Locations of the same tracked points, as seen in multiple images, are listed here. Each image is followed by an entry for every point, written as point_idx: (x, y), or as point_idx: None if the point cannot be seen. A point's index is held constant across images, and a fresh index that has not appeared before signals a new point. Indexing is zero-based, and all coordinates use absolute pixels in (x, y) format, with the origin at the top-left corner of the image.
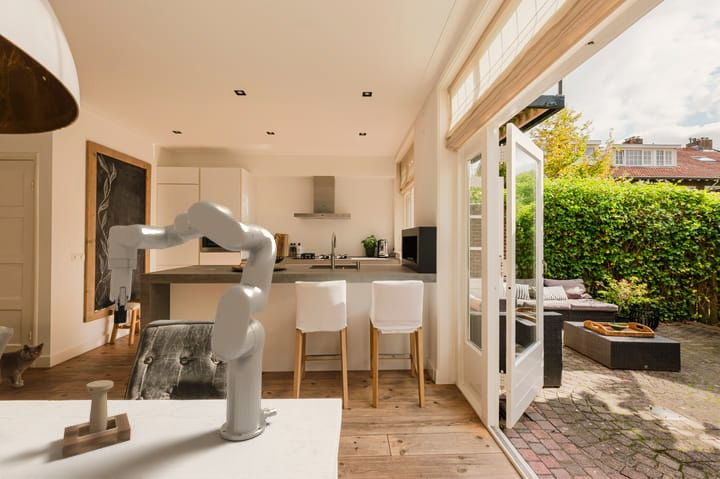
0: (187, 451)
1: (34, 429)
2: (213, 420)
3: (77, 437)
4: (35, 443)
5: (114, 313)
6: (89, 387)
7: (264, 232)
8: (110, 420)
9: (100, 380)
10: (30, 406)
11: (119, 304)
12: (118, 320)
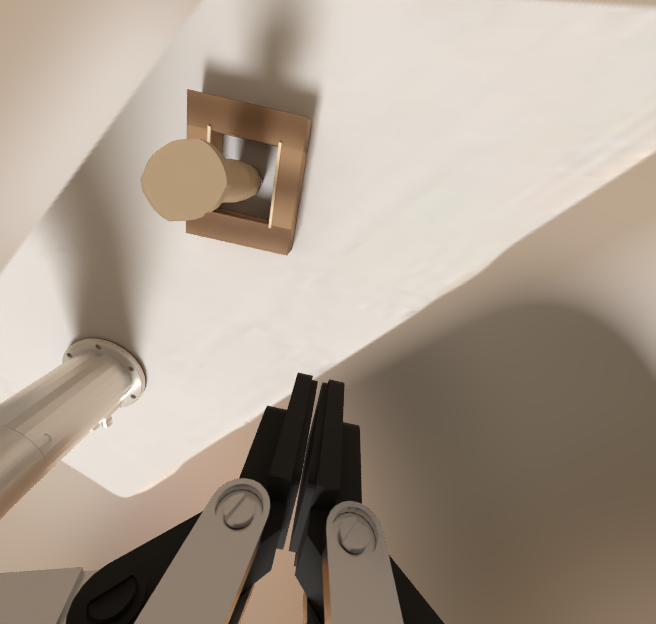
0: (85, 281)
1: (445, 70)
2: (177, 360)
3: (218, 129)
4: (341, 59)
5: (278, 447)
6: (170, 143)
7: None
8: (270, 215)
9: (221, 193)
10: None
11: (69, 609)
12: (267, 410)
